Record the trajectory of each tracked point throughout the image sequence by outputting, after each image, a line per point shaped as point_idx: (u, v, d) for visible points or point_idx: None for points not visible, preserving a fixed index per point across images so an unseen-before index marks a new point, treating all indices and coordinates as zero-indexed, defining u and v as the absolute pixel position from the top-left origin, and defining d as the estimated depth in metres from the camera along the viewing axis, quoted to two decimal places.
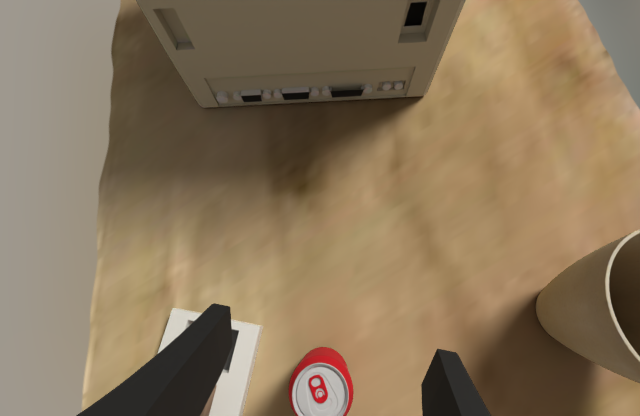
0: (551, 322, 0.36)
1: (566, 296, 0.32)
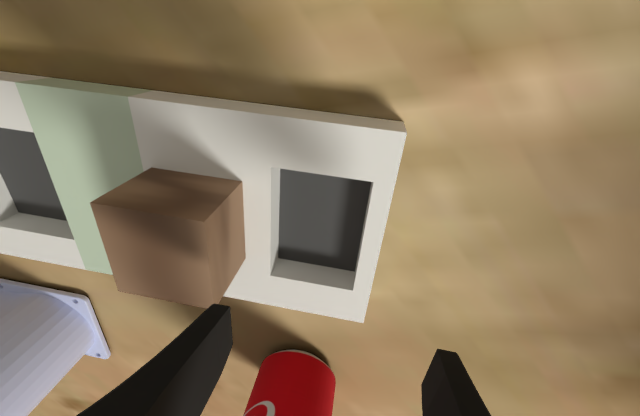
0: None
1: None
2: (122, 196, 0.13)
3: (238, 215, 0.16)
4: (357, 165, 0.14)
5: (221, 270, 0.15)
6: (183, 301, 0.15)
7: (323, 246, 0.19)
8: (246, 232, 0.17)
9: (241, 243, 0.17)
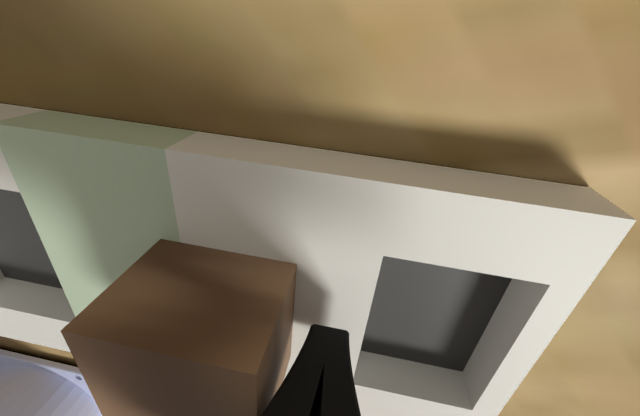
0: None
1: None
2: (116, 310, 0.08)
3: (289, 313, 0.11)
4: (530, 261, 0.09)
5: None
6: None
7: (424, 340, 0.14)
8: None
9: (289, 344, 0.12)
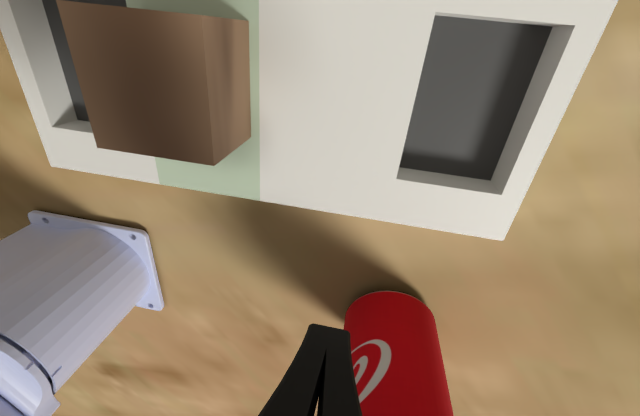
0: None
1: None
2: None
3: (243, 65, 0.13)
4: None
5: (223, 119, 0.12)
6: (176, 155, 0.12)
7: (458, 146, 0.16)
8: (378, 116, 0.14)
9: (246, 109, 0.14)
